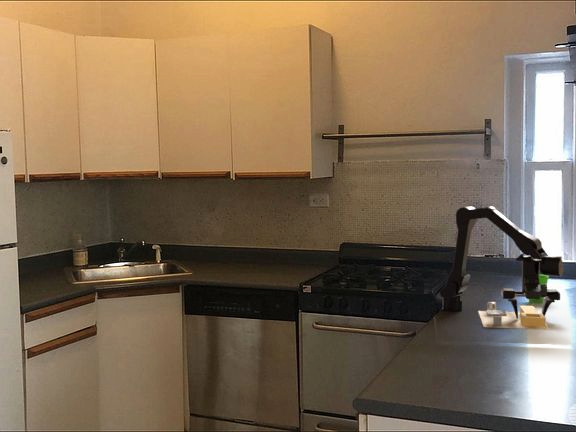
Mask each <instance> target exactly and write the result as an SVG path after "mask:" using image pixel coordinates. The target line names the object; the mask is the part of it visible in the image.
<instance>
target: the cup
mask: <svg viewBox="0 0 576 432" xmlns="http://www.w3.org/2000/svg"><path fill="white" fill-rule="evenodd" d="M549 278H550V276H546V275H543V274H540V273H539V283H540V285H547V286H548V281H549ZM543 298H545V297H541V299H539V300H537V299H528V303H535V304H541V303H542V304H543Z"/></svg>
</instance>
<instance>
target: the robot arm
mask: <svg viewBox="0 0 576 432" xmlns="http://www.w3.org/2000/svg"><path fill="white" fill-rule="evenodd" d="M478 219H488V220H489V221H490V222H491V223H492V224H494V225H495V226H496V227H497V228H498V229H499V230H501V232H503V233H504V234H506V236H508V237H509V238H510V239H511V240H512V241H513V243H514V244H515V246H516V247H517V248H518V250H519V251H520V252H521V253H520V255H519V256H517V257H516V258H515V261H518V262H521V290H519V291H518V290H515V289H514V288H509V287H508V288H505V287H504V288H501V291H500V294H501V298H502V299H503V300H506V301H507V302H510V304H511V305H512V308H513V312H515V315H516V318H517V319H518V312H519V310H518V300H517V297H518V298H519V297H520V298H521V297H524V298H526V299H527V300H529V299H537V300H539V299H541V297H544V298H543V303H542V307H541V313H542V314H543V315H544V316H545V317H546V314H547V312H548V309H549V307H550V306H551V304H553V303H555V302H556V301H561V293H560V292H559V291H558V290H557V289H553V288H552V289H548V284H547V285H540V283H539V274H540V273H541V274H542V275H546V276H549V277H559V278H561V277H562V276H563V274H564V268H565V266H564V263H563V260H562V259H563V257H562V256H560V255H556V256H551V255H548V253H547V252H546V250H545V249H544V248H543V246H542V241H541V240H540V238H538V237H536V236H534V235H532V234H531V233H528V232H526V231H523V230H522V229H521V228H519V227H518V226H517V225H516V224H515V223H513V222H512V221H511V220H509V218H507V217H506V216H505V215H504V214H502V213H501V212H500V211H498V209H497V208H496V207H494V206H486V207H478V208H477V207H476V208H475V207H474V206H469V205H468V206H462V207H460V208H458V209H457V210H456V212H455V224H456V228H457V237H456V243H455V251H454V257H453V258H454V259H453V265H452V269H451V271H450V272H449V275H448V276H447V280H446V283H445V286H444V287H443V288H442V289H441V290H440V291H439V295H440V297H441V298H442V311H444V312H450V313H451V312H463V299H461V296H462V295H463V292H464V291H465V290H466V289H467V288H468V286H470V279H471V274H468V273H467V270H466V268H467V261H468V254H469V247H470V240H471V235H472V234H471V233H472V230H473V228H475V225H476V222H477V220H478Z"/></svg>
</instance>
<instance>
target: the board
mask: <svg viewBox="0 0 576 432" xmlns="http://www.w3.org/2000/svg"><path fill="white" fill-rule="evenodd" d="M477 312H478V316H479V317H480V320H481V324H482V326H483V328H499V329H501V328H502V329H525V330H526V329H532V330H536V329H537V330H551V328H550V327H549V324H548V323H546V327H534V326H523V324H522V323H521V315H520V311H518V319H517V318H516V315H515V312H514V311H505V312H506V314H507V316H501V317H502V323H501V327H496V326H493V316H488V315H487V312H486V310H478V311H477Z"/></svg>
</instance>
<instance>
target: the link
mask: <svg viewBox="0 0 576 432" xmlns="http://www.w3.org/2000/svg"><path fill="white" fill-rule="evenodd" d="M519 312H520V315H521V323H522V324H523V326H534V327H546V324H547V321H546V320H547V318H546V315H545V316H544V315H543V314H542V312H541V313H540V312H538V311H537V309H536V308H535V307H534V306H533V305H519Z"/></svg>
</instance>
